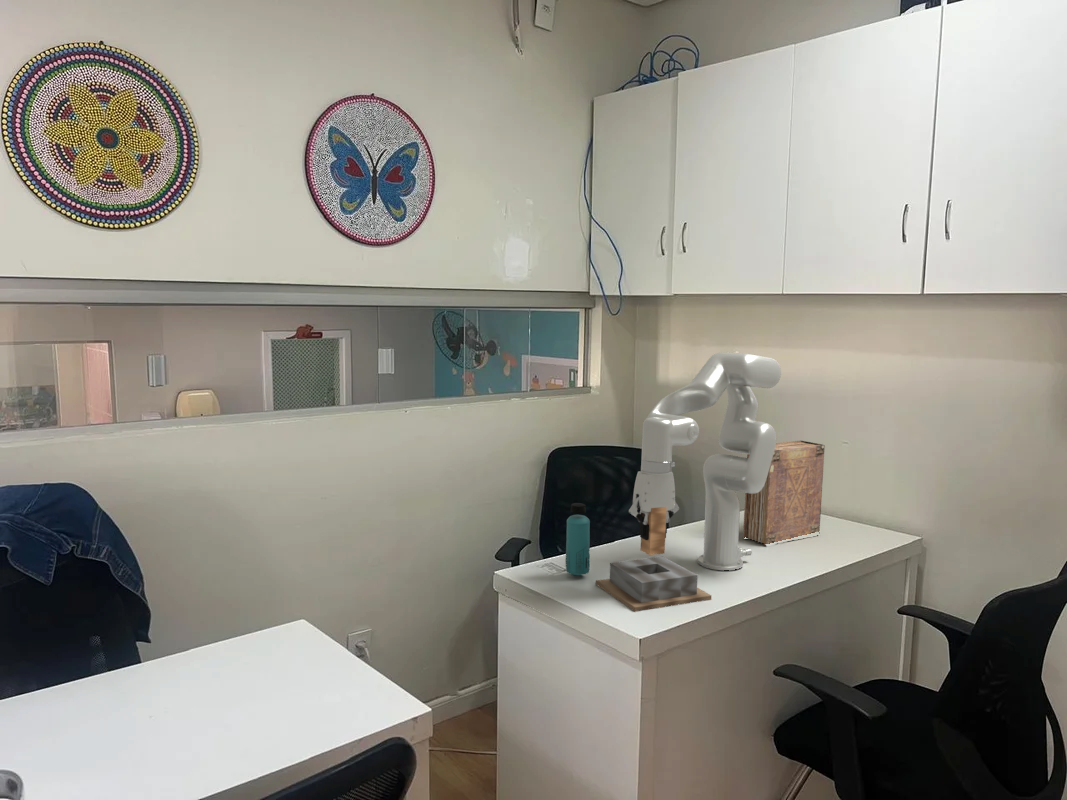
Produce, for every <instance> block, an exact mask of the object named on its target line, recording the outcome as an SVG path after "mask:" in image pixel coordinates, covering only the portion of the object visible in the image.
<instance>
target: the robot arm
mask: <svg viewBox="0 0 1067 800" xmlns="http://www.w3.org/2000/svg"><path fill="white" fill-rule="evenodd" d="M781 376H782V368H781V365H780V363H779V362H778V360H776V359H774V358H773V357H767V356H763V355H762V356H761V355H758V354H757V355H756V354H751V353H741V352H728V351H727V352H722V351H721V352H716V353H713V354H712V355H711V356H710V357H709V358H708V360H707V361H706V362H705V363H704V365H703V366H702V367H701V369H700V370H699V371H698V373H697V374H696V375H695V377H694V378H693V379H692V381H691V382H690V383H689V384H687V385H685V386H683V387H681V388H679V389H677V390H675V391H673V392H671V393H669V394H667V395H666V396H664V397H663V398H661V399H660V400H659V401H658V402H657V403H656V404H655V405H654V407H653V408H652V409H651V411H650V412H649V413H648V415H647V417H646V418H645V419H644V421H643V423H642V437H641V439H642V440H641V463H640V464H641V465H640V471H637V474H636V477H635V482H634V488H633V495H632V505H631V506H630V508H629V509H628V513H629V514H631V516H634V517H635V519H636V520H637V521H638V523H639V537H640V539H641V538H643V539H645V540H648V539H649V525H648V524H647V523H648V519H649V513H650V512H651V508H660V507H667V511H666V532H665V539H666V538H667V533H668V523H670V520H671V519H672V518H673V516H674V514H675V513H677V512H678V511H679V510H680V507H679V504H678V503H677V501H676V485H675V484H676V483H675V478H674V472H673V471H672V469H673V467H674V468H675V467H676V462H675V461H673V459H672V458H673V456H672V455H673V446H678V447H679V446H680V447H681V446H683V447H684V446H685V447H686V446H690V445H692V444H694V442H696V441H697V439H698V437H699V435H700V427H699V425H698V422H697V421H696V420H695V419H693V418H692V417H689V416H684V414H688V413H691V412H693V413H694V412H697V411H701V410H705V409H708V408H711V407H713V406H714V405H716V404H717V402H718V400H719V399H720V397H721V396H722V395H723V394H724V392H725V391H726V392H727V405H726V409H725V412H724V417H723V419H722V424H721V427H720V430H719V433H718V434H719V435H718V444H719V447H721V449H723V450H725V451H727V452H733V453H738V454H744V455H747V454H750V456H749V458H747V457H743V456H738V455H733V454H732V455H731V454H726V453H716V454H712V455H710V456H708V457H707V458H706V459H705V461H704V463H703V469H702V470H703V471H702V473H703V474H702V475H703V481H704V488H705V509H704V533H703V534H704V535H703V554H700V555H699V556H698V557H697V563H698V564H699V565H700V566H702V567H704V568H707V569H709V570H714V571H724V570H729V571H736V570H735V569H737V570H739V568H740V569H741V567H742V568H743V566H744V561H743V560H742V558H743V557H748V556H751V555H752V554H753V552H752V549H751V548H745V549H743V548H742V547H739V540H740V539H739V537H740V535H739V533H740V519H741V518H740V515H741V503H740V499H739V497H738V493H737V492H740V493H743V494H745V493H750V494H755V493H758V492H760V491H761V490H762V488H763V487H764V485H765V482H766V479H767V476H768V472H769V468H770V465H771V461H772V458H773V454H774V451H775V446H776V443H777V433H776V430H775V428H774V427H773V426H772V425H771V424H770V423H767V422H764V421H758V420H757V419H756V418H757V416H758V415H757V414H758V410H759V404H758V403H759V402H758V400H757V397H756V396H755V393H754V392H753V390H752V388H759V389H760V388H761V389H771V388H775V387H776V386H777V385H778V383H779V381H780V380H781ZM638 510H640V511H639V512H638Z"/></svg>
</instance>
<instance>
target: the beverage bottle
mask: <svg viewBox="0 0 1067 800" xmlns="http://www.w3.org/2000/svg"><path fill="white" fill-rule="evenodd" d="M586 508H587V506H586V504H585V503H583V502H582V503H581V502H574V503H571V505H570V513H572V514H573V515H572V514H571V515H570V516H569V517H568V518H567V519H566V540H565V542H566V543H565V569H566V572H567V574H569V575H573V576H574V575H575V576H582V575H587V574H589V572H590V562H591V561H590V557H591V556H590V555H591V554H590V548H591V546H590V542H591V539H590V537H591V535H590V530H591V529H590V527H591V525H590V523H591V520H590V519H589V518H588V517H587V516H586V515H583V514H586V513H587V509H586Z"/></svg>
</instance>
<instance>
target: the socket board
mask: <svg viewBox="0 0 1067 800" xmlns="http://www.w3.org/2000/svg"><path fill="white" fill-rule="evenodd" d="M609 563H610V564H609V578H604V579H596V580H595V585H597V586H598V587H599V588H601V589H602V590H604V591H605V592H607V593H608V594H609V595H610V596H612V597H614V598H615V599H616V600H618V601H620V603H622V604H624V605H625V606H627V608H629V609H631V610H632V611H633V612H641V611H646V610H653V609H659V607H660V608H665V606H666V607H671V605H672V606H678V604H679V605H684V603H685V604H691V603H697V601H698V602H702V600H704V601H708V600H707V599H710V600H712V594H710V593H708V592H706V591H705V590H703V589H701V588H699V587H698V574H697V573H695V572H692V570H689V569H687V568H685V567H684V566H681V565H679V564H678V563H676V562H674V561H672V560H670V559H669V558H666V557H665V556H664V555H663V556H655V557H647V558H637V559H630V560H624V561H614V562H609ZM690 602H691V603H690Z"/></svg>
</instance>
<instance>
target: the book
mask: <svg viewBox="0 0 1067 800" xmlns="http://www.w3.org/2000/svg"><path fill="white" fill-rule="evenodd" d="M825 448H826V446H825V444H823V443H822V444H821V443H815V442H810V441H805V440H795V441H785V442H784V441H783V442H776V446H775V451H774V454H773V458H772V461H771V465H770V468H769V472H768V476H767V479H766V482H765V485H764V487H763V488H762V490H761V491H760V492H758V493H755V494H750V493H744V509H743V513H744V514H743V528H742V530H743V531H742V538H743V537H744V538H745V537H746V538H749V539H748V540H750V539H752V540H751V541H753V540H755V541H754V542H756V541H758V542H757V543H759V542H761V543H760V544H762V543H765V544H770V543H774V542H778V541H782V540H786V539H791V538H794V537H798V536H802V535H807V534H811V533H815V532H819V531H820V529H821V512H822V496H823V478H824V464H825V463H824V462H825ZM746 455H747V456H746V458H749V456H750V454H746ZM819 533H820V532H819ZM765 544H764V545H765Z"/></svg>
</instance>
